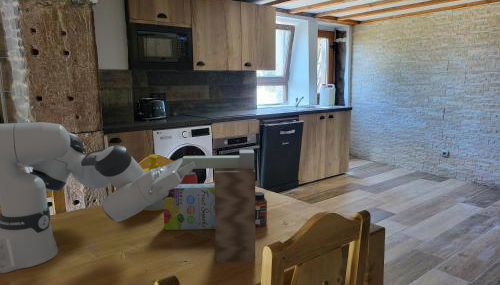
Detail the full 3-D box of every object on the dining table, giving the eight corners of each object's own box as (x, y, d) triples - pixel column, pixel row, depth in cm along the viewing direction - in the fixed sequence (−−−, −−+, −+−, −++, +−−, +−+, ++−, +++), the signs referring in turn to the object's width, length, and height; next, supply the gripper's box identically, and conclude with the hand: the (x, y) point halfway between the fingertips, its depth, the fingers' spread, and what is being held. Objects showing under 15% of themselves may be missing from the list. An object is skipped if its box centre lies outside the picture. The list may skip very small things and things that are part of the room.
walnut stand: (216, 262, 100) (214, 172, 96) (217, 243, 112) (216, 162, 108) (255, 261, 101) (255, 171, 97) (253, 242, 113) (252, 162, 108)
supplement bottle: (261, 228, 124) (261, 197, 122) (246, 225, 127) (246, 194, 125) (269, 222, 129) (270, 192, 127) (255, 219, 132) (255, 189, 130)
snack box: (226, 223, 129) (225, 182, 126) (225, 229, 123) (225, 187, 121) (167, 224, 128) (165, 183, 126) (163, 230, 123) (161, 188, 120)
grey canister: (143, 213, 138) (140, 159, 135) (135, 203, 150) (132, 154, 146) (176, 207, 145) (174, 156, 141) (166, 198, 156) (164, 151, 152)
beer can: (194, 202, 151) (193, 175, 149) (179, 201, 152) (178, 174, 150) (199, 198, 157) (199, 171, 155) (185, 197, 158) (184, 170, 156)
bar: (182, 169, 99) (181, 153, 98) (184, 165, 104) (184, 150, 103) (254, 168, 100) (254, 152, 99) (253, 164, 105) (253, 149, 104)
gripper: (139, 186, 91) (185, 159, 91) (156, 167, 112) (194, 145, 111) (153, 206, 92) (199, 179, 92) (167, 184, 113) (205, 162, 112)
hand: (196, 160), depth 102 cm, fingers open, 6 cm apart
